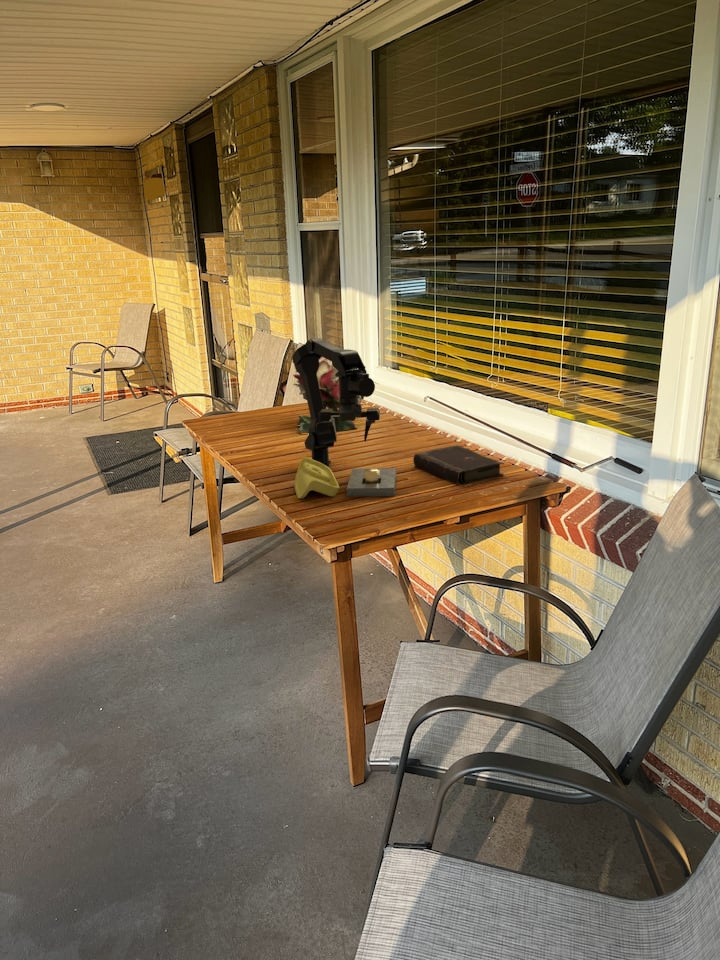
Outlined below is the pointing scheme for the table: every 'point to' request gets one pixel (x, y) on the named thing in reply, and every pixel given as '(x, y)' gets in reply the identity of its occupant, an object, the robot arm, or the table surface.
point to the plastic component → (314, 479)
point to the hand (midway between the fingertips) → (350, 441)
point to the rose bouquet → (324, 396)
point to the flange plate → (381, 489)
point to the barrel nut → (371, 476)
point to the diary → (458, 464)
